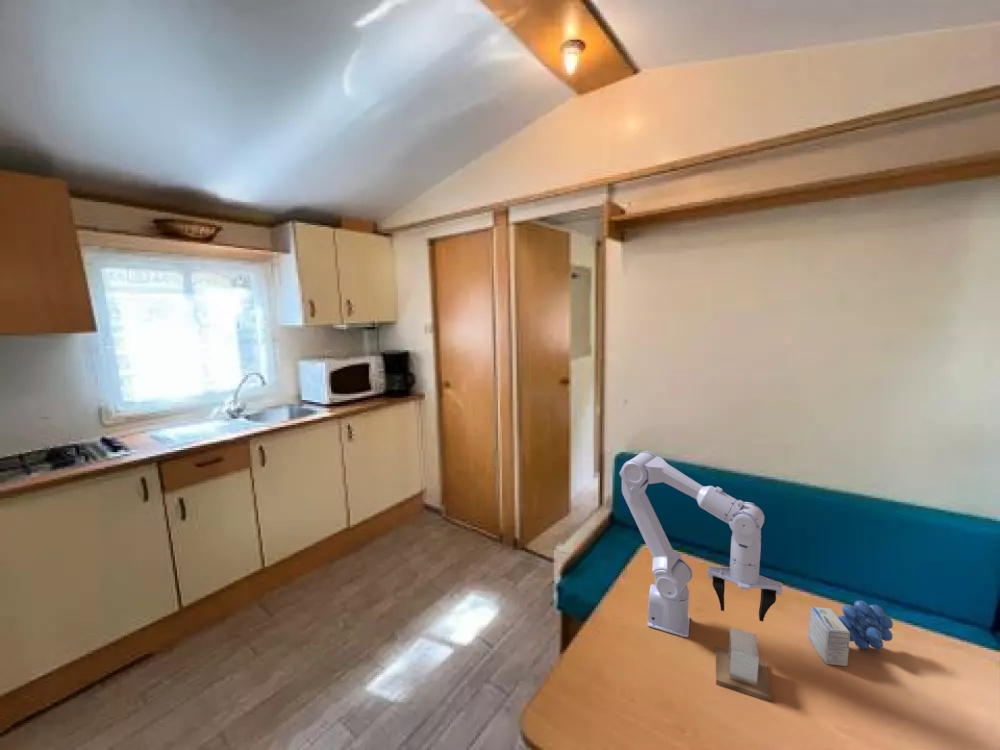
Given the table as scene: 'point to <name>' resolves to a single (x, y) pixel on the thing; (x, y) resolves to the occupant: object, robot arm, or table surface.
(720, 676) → the thin tan panel
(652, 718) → the table surface
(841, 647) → the medicine box
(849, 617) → the grapes
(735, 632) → the brushed steel brick
